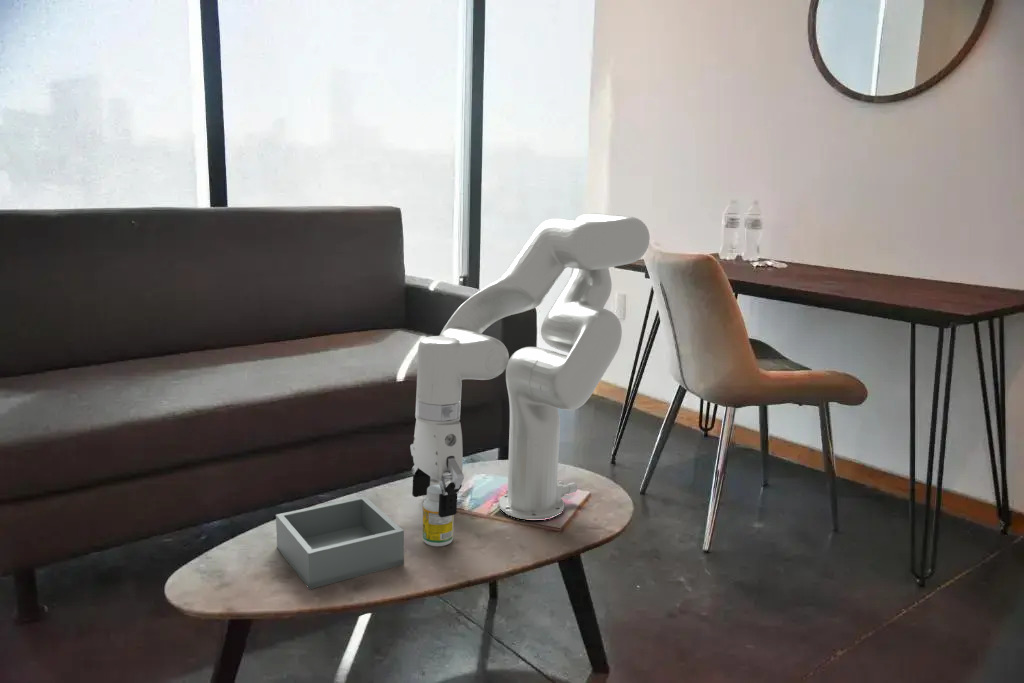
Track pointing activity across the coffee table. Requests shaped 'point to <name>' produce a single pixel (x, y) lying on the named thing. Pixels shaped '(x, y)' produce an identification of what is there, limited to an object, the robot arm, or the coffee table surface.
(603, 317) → the robot arm
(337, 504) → the tote
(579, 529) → the coffee table surface
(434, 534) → the supplement bottle
